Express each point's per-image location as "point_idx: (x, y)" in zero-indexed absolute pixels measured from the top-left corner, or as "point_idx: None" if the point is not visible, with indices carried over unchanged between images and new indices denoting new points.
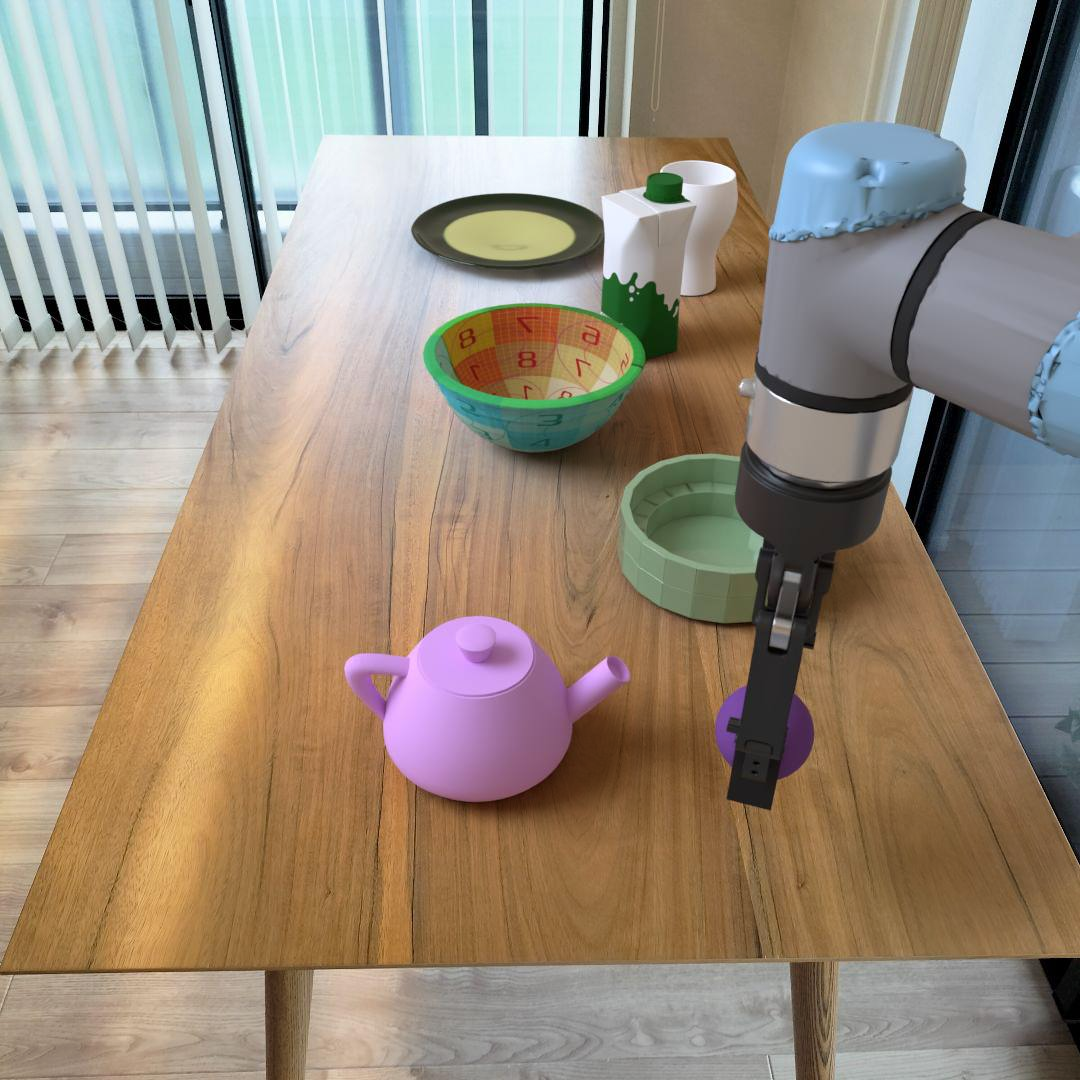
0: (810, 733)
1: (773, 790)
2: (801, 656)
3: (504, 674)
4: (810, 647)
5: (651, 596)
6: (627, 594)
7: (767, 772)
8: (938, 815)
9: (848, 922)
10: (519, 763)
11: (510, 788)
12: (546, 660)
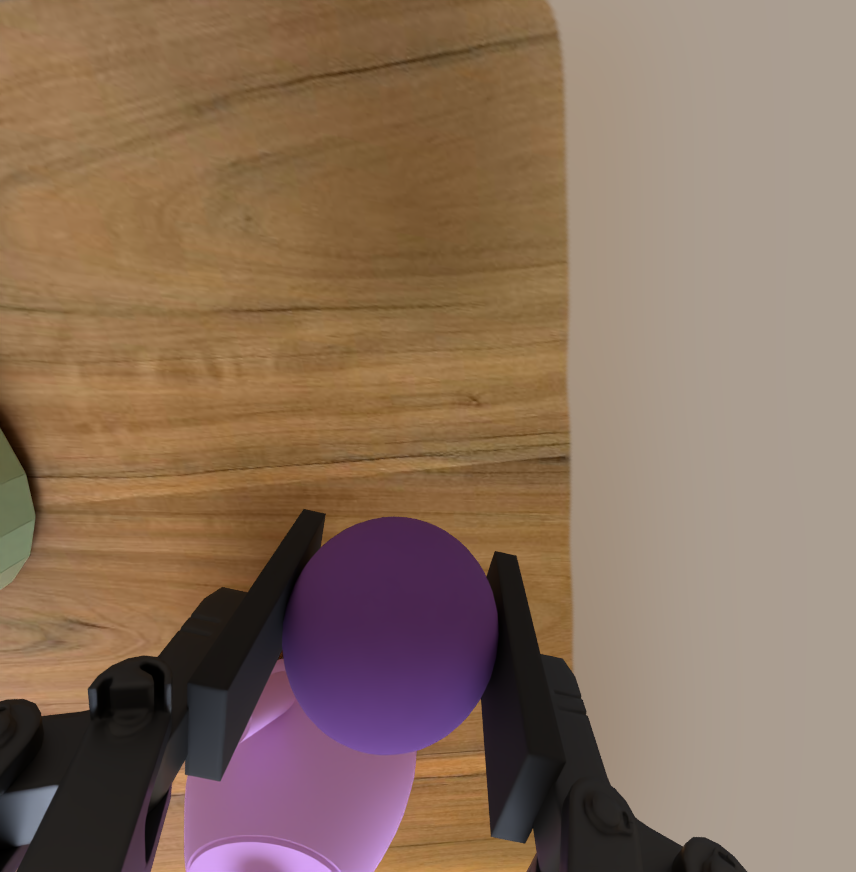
0: (425, 579)
1: (523, 593)
2: (209, 687)
3: (298, 868)
4: (170, 692)
5: (15, 570)
6: (22, 585)
7: (578, 695)
8: (326, 172)
9: (528, 346)
10: None
11: None
12: (239, 793)
